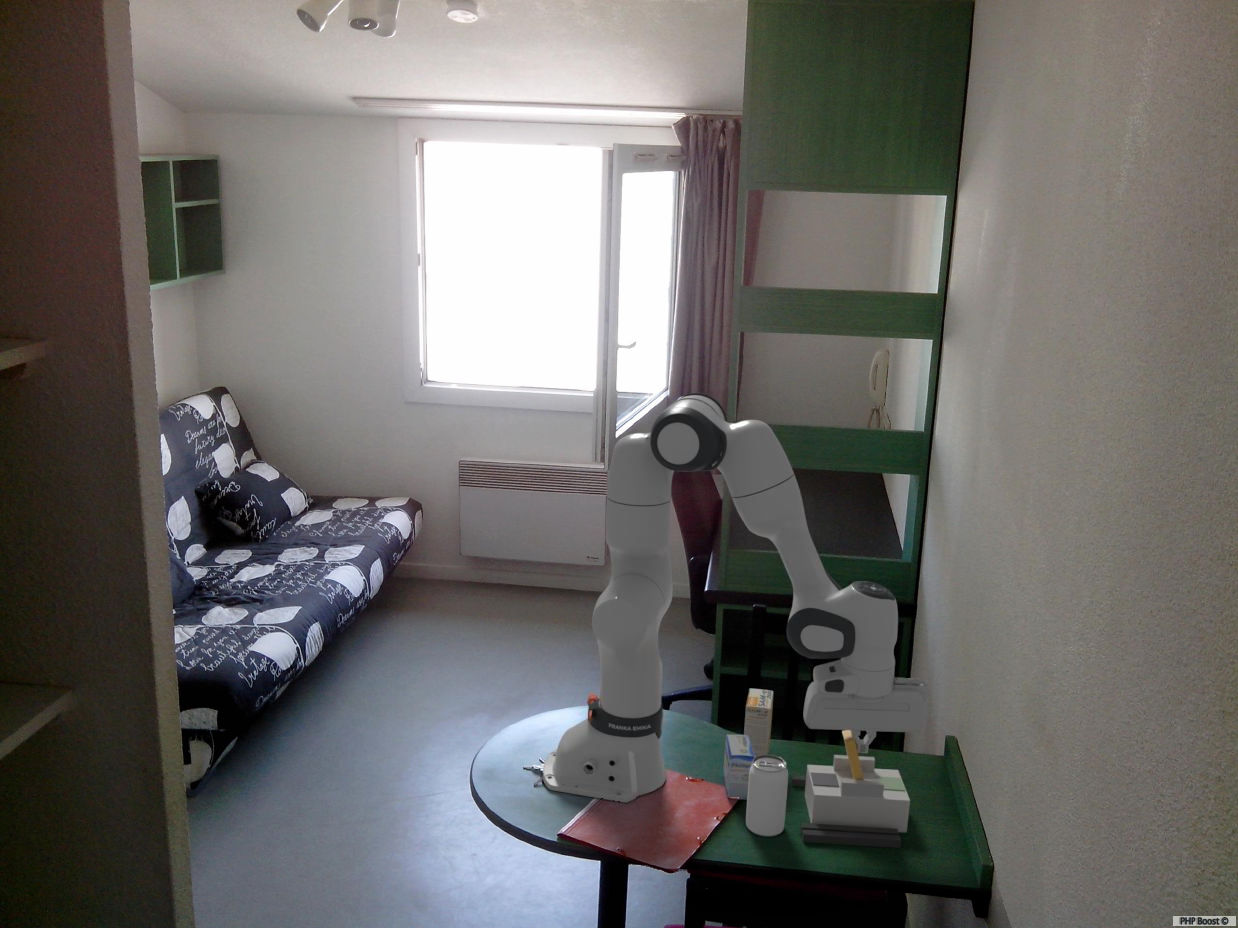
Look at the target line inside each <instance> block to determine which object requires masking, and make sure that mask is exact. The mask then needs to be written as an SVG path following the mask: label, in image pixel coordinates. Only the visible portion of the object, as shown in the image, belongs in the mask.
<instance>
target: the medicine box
mask: <svg viewBox="0 0 1238 928" xmlns="http://www.w3.org/2000/svg"><path fill="white" fill-rule="evenodd" d="M724 745H725V746H724V756H723V757H724V758H723V769H722V778H723V782H724V788H725V791H726V792H725V793H726V797H739V798H740V799H739V800H744V801H745V800H746V801H747V798H748V784H749V772H750V767H751V765H752V764H753V759H754V758H755V757H754V753H753V749H752V745H751V741H750V737H749V736H748V735H744V734H726V736H725V744H724Z"/></svg>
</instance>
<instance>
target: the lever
mask: <svg viewBox="0 0 1238 928" xmlns="http://www.w3.org/2000/svg"><path fill="white" fill-rule="evenodd" d="M841 733H842V737H843V741H844V742H843V743H844V746H845V750H846V755H847V756H848V760H849V764H850V768H851V772H852V776H853V779H854V780H864V778H863V774H862V770H861V765H860V761H859V757H858V756H859V753H858V752H857V748H856V742H855V740H854V738H853V736H852V734H851V731H850V730H841Z"/></svg>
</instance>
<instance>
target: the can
mask: <svg viewBox="0 0 1238 928" xmlns="http://www.w3.org/2000/svg"><path fill="white" fill-rule="evenodd" d="M787 765H788V764H787V762H786V761H785V759H783V758H782V757H780V756H777V755H774V754H768V755H759V756H757V757H755V758H754V759H753V764H752V765H751V767H750V772H749V784H748V798H747V800H746V814H745V826H746V827H747V829H748V830H749V831H750V832H752V833H753V834H755V835H756V836H759V837H764V838H767V837H769V838H771V837H776V836H778V835H780V834H781V833H783V831H784V829H785V821H786V820H785V819H786V811H787V810H786V809H787V808H786V807H787V798H788V784H789V772H788V769H787Z"/></svg>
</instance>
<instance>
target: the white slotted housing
mask: <svg viewBox="0 0 1238 928" xmlns="http://www.w3.org/2000/svg"><path fill="white" fill-rule="evenodd" d="M858 757H859V761H860V765H861V770H862V774H863V778H864V780H854V779H853V776H852V772H851V768H850V764H849V760H848V755H847V754H845V755H843V754H833V765H820V764H807V765H806V775H805V776H806V785H805V787H804V797H805V804H806V807H807V813H808V816H809V821H810V822H809V823H813V824H829V825H845V826H861V827H877V828H893V829H897V830H898V833H907V832H908V824H909V823H908V822H909V817H910V816H909V815H910V807H911V799H910V797H909V794H908V791H907V789H906V786H905V784H904V782H903V779H902V776H901V773H900V771H899V770H898V769H888V768H887V769H885V768H875V767H876V759H875V757H874V756H861V755H860V756H859V755H858Z"/></svg>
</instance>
